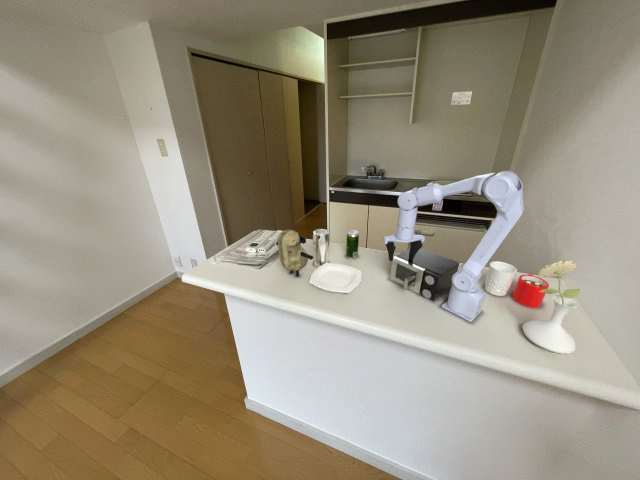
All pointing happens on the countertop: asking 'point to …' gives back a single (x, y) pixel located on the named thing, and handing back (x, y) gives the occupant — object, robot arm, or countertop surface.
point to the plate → (336, 277)
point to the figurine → (292, 251)
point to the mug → (529, 290)
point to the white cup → (499, 278)
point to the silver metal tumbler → (320, 246)
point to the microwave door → (407, 274)
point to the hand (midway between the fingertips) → (400, 259)
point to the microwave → (433, 272)
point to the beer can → (352, 244)
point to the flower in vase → (554, 314)
